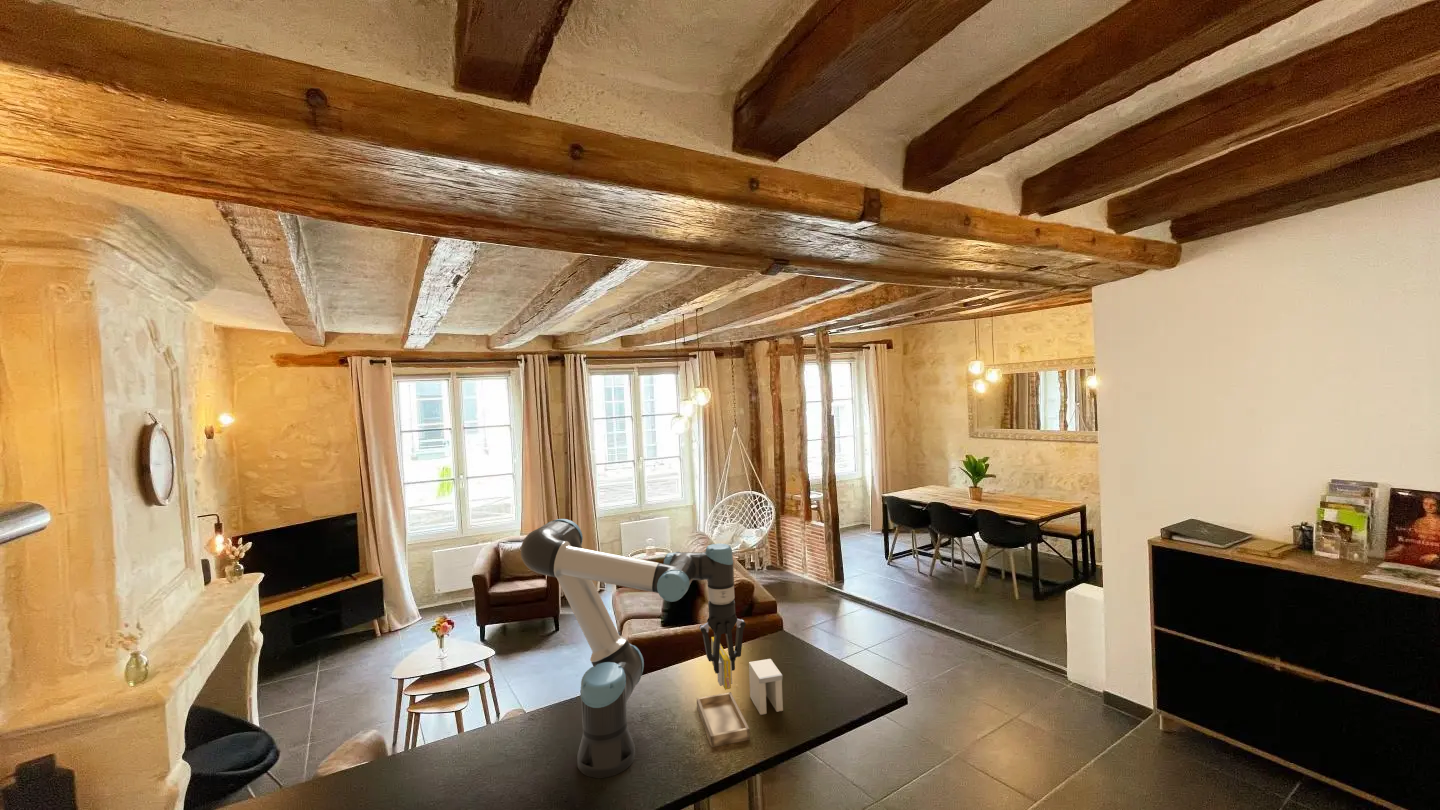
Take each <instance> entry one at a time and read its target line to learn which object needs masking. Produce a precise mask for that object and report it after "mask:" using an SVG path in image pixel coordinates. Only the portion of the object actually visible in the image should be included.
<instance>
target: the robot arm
mask: <svg viewBox="0 0 1440 810" xmlns="http://www.w3.org/2000/svg"><path fill="white" fill-rule="evenodd" d="M583 538H584V537H583V532H582V530H581V528H580V526H579V525H578V524H577V523H576V522H574V521H573V520H570V519H567V518H556V519H554V520H551V521H548V522H547V523H545V524H543V525H542V526H540V527H538V528H536V529H534V530H532V531H530V532H529V533H528V534H527V535H526V536H525V537H524V539H523V541H522V543H521V546H520V558H521V560H522V562H523V564H524V565H525V566H526V567H527V569H529V570H530V571H532V572H534V573H537V574H540V575H543V576H546V577H552V578H556V579H557V582H558V585H559V586H560V588H561V591H563V594H564V596H565V598H566V600H567V602H568V605H569V606H570V608H571V610H572V612H573V615H574V617H575V619H576V621H577V623H578V625H579V627H580V628H581V631H582V632H583V636H584V637H585V639H586V641H587V643H588V645H589V647H590V650H591V652H592V653H591V656H590V659H589V660H590V663H591V664H592V666H591V667H590V668H589V669H587V670H586V671H585V673H584V674H583V676H582V677H581V681H580V702H581V719H582V720H581V721H582V722H581V723H582V737H581V741H580V744H579V747H578V752H577V755H576V757H577V759H576V761H577V768H578V771H579V772H581V774H583V775H584V776H586V777H589V778H595V779H602V778H604V779H605V778H609V777H614V776H616V775H618V774H620V773H622V772H624V771H625V770H627V769H628V768H629V767H631V765H632V764H633V763H634V760H635V758H636V745H635V742H634V739H633V737H632V734H631V732H630V730H629V727H628V710H627V703H628V701H629V699H630V697H631V695H632V694H633V692H634V690H635V688H636V686H637V685H638V684H639V682H640V680H641V679H642V675H643V672H644V667H645V662H644V661H645V660H644V657H643V654H642V653H641V651H640V649H639V648H638V647H637V646H636V645H633V644H631V643H630V642H629V640H628V638H627V637H626V636H623V635H620V634H619V632H618V630H617V627H616V626H615V624H614V622H613V620H612V617H611V615H610V614H609V611H608V610H607V608H606V605H605V604H604V601H603V600H602V597H601V595H600V593H599V591H598V589H597V587H596V585H595V583H594V581H595V582H599V583H603V584H610V585H615V586H619V587H620V586H621V587H625V588H629V589H635V590H642V591H646V592H651V593H655V594H658V595H659V596H660V598H661V599H662V600H664V601H667V602H669V603H670V602H671V603H672V602H678V601H679V600H680V599H682V598H683V597H684V596H685V595H686V593H687V592H688V590H689V588H690V585H691V583H692V582H693V581H707V584H706V585H707V599H708V602H707V603H708V605H707V607H708V619H707V622H705V623H704V624H700V625H699V630H700V632H701V634H702V638H703V643H704V650H705V655H706V658H707V660H708V662H711V663H712V661H713V663H714V666H713V671H714V673H715V674H717V683H718V685H719V686H720V687H724V686H723V682H722V662H721V660H720V659H719V652H720V644H721V639H722V635H723V634H725V639H726V646H727V651H728V652H727V653H728V657H729V659H730V668H731V685H732V684H733V671H735V670H736V659H737V658H740V657H741V656H742V648H743V638H744V636H743V635H744V629H745V628H746V626H747V625H746V622H745V620H744V619H743V618H741V619H740V618H738V617H737V615H736V602H735V597H736V596H735V579H734V577H735V573H734V572H735V571H734V569H735V568H734V558H733V549H732V547H731V546H730V545H729V544H726V543H721V542H720V543H719V542H717V543H712V544H708V545H707V546H706V548H705V551H703V552H689V551H688V552H686V551H685V552H684V551H683V552H681V551H675V552H668V553H667V554H665V556H664V560H663V563H660V562H656V561H652V560H645V559H640V558H636V557H630V556H624V555H619V554H616V553H615V554H614V553H609V552H604V551H599V550H593V549H589V548H583V546H582V545H583ZM735 626H736V633H735V644H734V641H733V632H732V630H733V629H734V627H735ZM710 629H711V630H712V631H713V637H714V647H713V655H712V646H711V642H710V636H709V631H710Z"/></svg>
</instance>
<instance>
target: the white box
mask: <svg viewBox="0 0 1440 810" xmlns="http://www.w3.org/2000/svg"><path fill="white" fill-rule="evenodd" d="M748 672H749V673H748V674H749V676H748V677H749V696H750V697H749V698H750V699H751V701H752V703H753V705H754V706H755V708H756V709H757V712H758V713H759V715H760V716H762V715H766V714H767V699H768V700H769V702H770V704H771V706H772V707H773V709H774V710H775V712H782V711H784V706H783V705H784V704H783V680H784V679H783V674H782V673H781V671H780V670H779V669H778V667H777V666H776V664H775V663H774V662H773V659H771V658H767V659H766V658H765V659H761V660H754V661H749V662H748Z"/></svg>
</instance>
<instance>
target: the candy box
mask: <svg viewBox="0 0 1440 810" xmlns="http://www.w3.org/2000/svg"><path fill="white" fill-rule="evenodd" d="M710 640H711V642H710V647H711V652H712V655H713V647H714V636H711V637H710ZM719 659H720V660H721V662H722V682H723V686H722V687H723V688H724V690H725V691H726V690H730V689H732V684H731V668H730V659H729V655H728V654H727V653H726V650H725V649H724V648H723V646H722V644H721V643H720V652H719ZM711 664H712V666H713V667H714V663H713V661H711Z"/></svg>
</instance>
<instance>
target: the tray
mask: <svg viewBox="0 0 1440 810" xmlns="http://www.w3.org/2000/svg"><path fill="white" fill-rule="evenodd" d="M696 709H697V712H698V715H699V717H700V720H701V722H702V725H703V728H704V730H705V733H706V737H707V739H708V741H709V744H710V747H711V748H715V747H720V746H724V745H725V746H726V745H729V744H734V743H735V744H736V743H740V742H744V741H745V742H747V741H749V740H751V735H750V733H751V732H750V731H751V729H750V727H749V725H748V723H747V721H746V719H745V717H744V715H743V714H742V712H741V709H740V707H739V705H738V704H737V701H736V699H735V698H734V695H733V693H732V692H731V691H728V692H725V693H718V694H713V695H706V696H700V697H696Z"/></svg>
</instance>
